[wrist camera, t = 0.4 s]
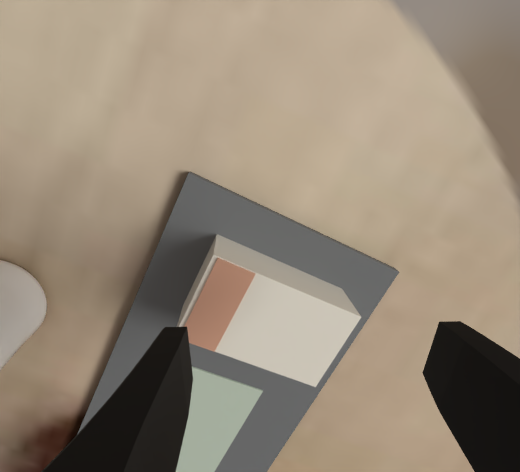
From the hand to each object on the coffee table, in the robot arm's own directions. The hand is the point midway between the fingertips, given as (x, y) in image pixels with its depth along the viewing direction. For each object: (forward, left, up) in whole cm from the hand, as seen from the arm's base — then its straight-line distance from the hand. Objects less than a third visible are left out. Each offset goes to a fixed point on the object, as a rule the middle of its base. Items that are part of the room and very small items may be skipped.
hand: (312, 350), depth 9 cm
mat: (-8, -6, -10) cm, 14 cm away
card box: (-2, -3, -10) cm, 10 cm away
